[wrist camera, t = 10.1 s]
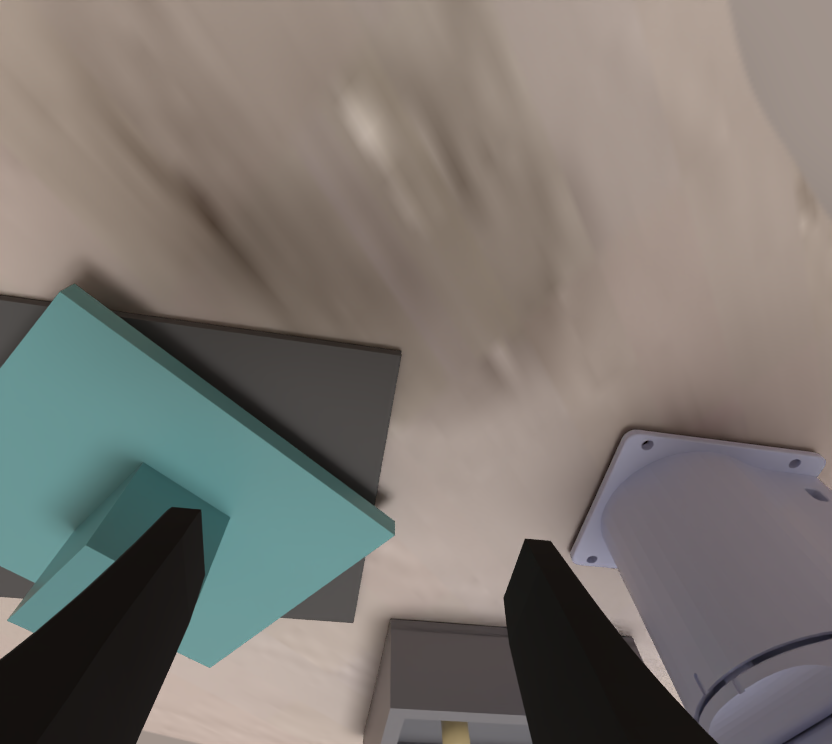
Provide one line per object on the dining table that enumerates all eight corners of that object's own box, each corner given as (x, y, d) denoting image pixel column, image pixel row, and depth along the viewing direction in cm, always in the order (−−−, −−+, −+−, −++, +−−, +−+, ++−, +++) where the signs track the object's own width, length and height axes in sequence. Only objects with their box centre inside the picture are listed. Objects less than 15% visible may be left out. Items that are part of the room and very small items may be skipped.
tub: (632, 637, 28) (670, 723, 24) (566, 745, 34) (589, 830, 30) (390, 618, 27) (390, 708, 23) (363, 736, 32) (359, 824, 28)
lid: (394, 508, 22) (395, 621, 18) (219, 638, 26) (179, 760, 21) (87, 276, 17) (-39, 347, 12) (-77, 484, 21) (-223, 602, 16)
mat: (401, 351, 19) (401, 355, 19) (353, 616, 27) (353, 622, 26) (-116, 279, 17) (-127, 282, 17) (-10, 588, 24) (-17, 595, 24)
